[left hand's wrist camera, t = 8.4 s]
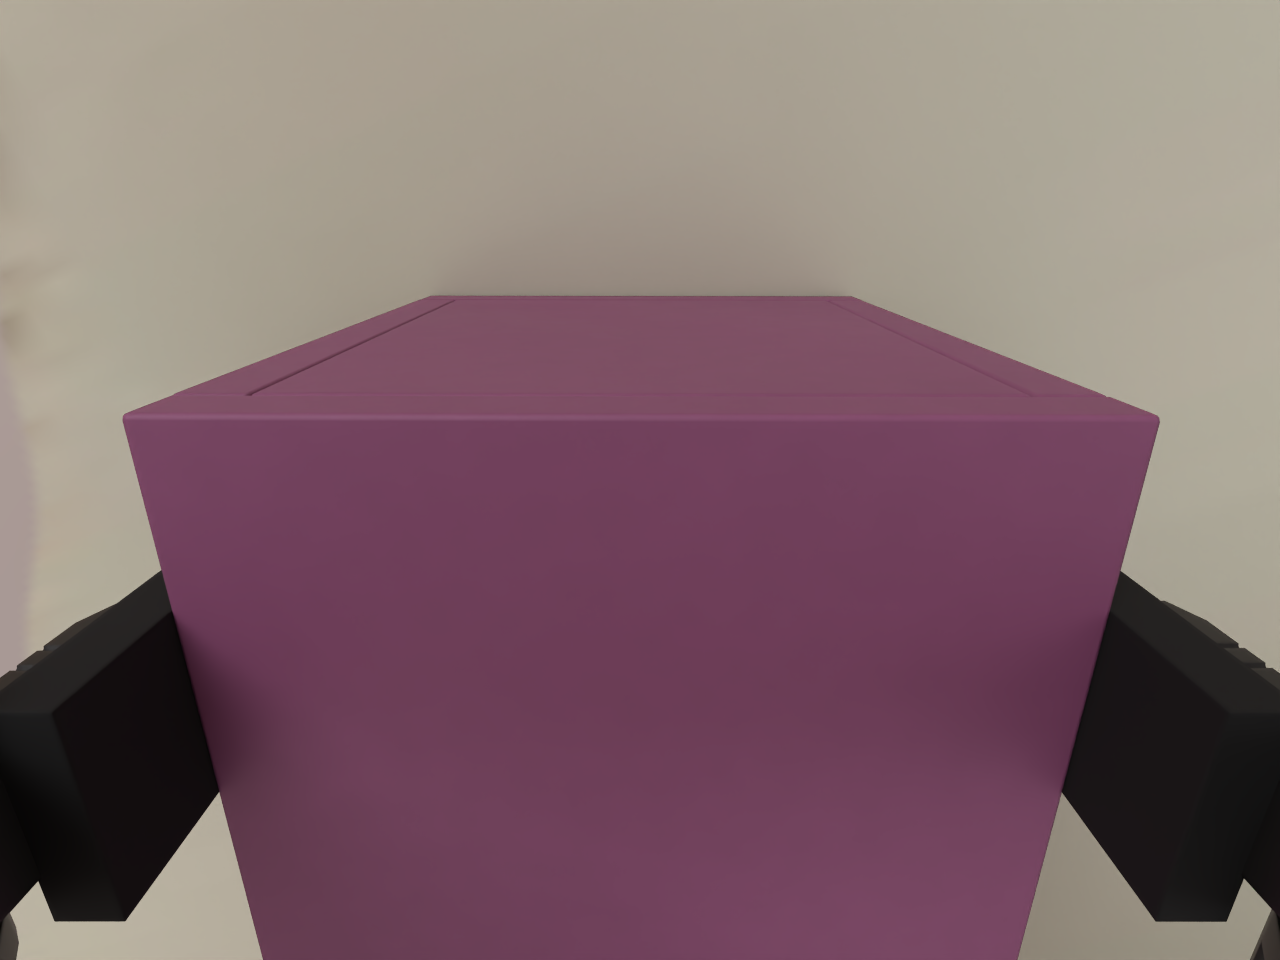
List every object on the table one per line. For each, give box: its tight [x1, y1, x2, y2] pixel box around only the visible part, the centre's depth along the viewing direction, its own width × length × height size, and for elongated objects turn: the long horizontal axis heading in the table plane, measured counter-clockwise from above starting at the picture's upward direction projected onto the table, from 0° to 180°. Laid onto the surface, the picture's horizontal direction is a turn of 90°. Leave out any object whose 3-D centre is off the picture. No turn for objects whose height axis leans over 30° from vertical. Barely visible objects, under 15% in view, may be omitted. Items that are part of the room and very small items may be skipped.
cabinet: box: [123, 296, 1160, 960], centre depth 16 cm, size 16×11×12 cm
